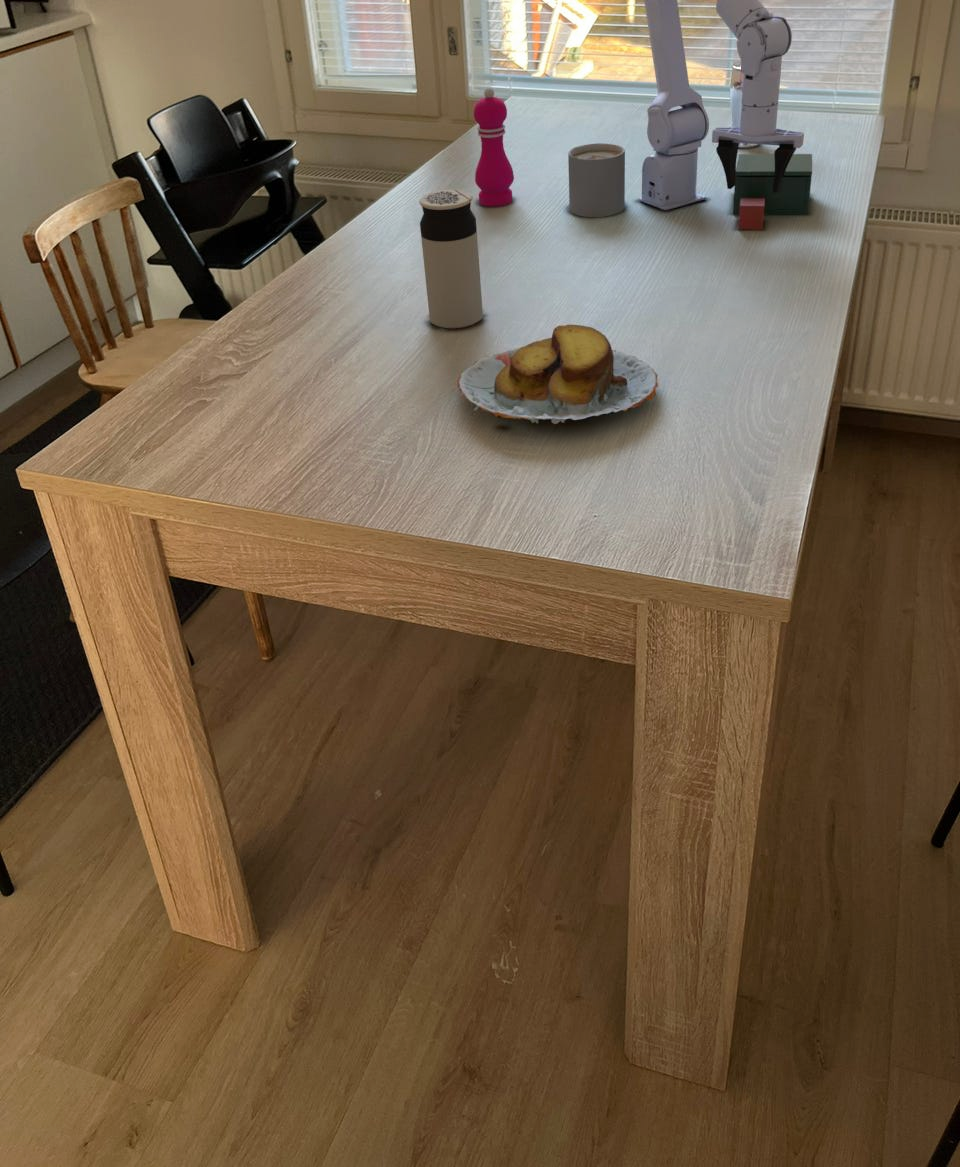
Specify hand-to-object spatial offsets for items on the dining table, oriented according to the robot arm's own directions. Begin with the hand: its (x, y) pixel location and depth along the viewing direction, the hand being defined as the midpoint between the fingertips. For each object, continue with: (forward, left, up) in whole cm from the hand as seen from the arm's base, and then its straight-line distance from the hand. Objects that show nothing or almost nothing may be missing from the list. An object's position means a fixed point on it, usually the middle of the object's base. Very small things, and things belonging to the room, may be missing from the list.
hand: (753, 188), depth 187 cm
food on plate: (-61, -32, -6) cm, 69 cm away
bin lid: (+10, +6, 0) cm, 11 cm away
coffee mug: (-13, +26, -6) cm, 30 cm away
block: (0, 0, -6) cm, 6 cm away
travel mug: (-59, -2, -6) cm, 59 cm away
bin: (+10, +6, -6) cm, 13 cm away
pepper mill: (-26, +41, -6) cm, 49 cm away
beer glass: (+31, +37, -6) cm, 49 cm away
